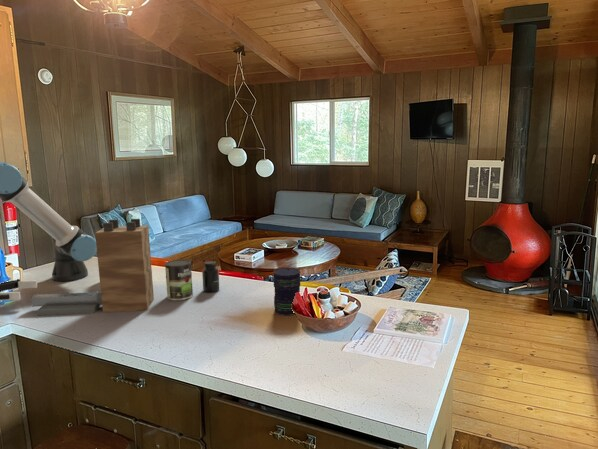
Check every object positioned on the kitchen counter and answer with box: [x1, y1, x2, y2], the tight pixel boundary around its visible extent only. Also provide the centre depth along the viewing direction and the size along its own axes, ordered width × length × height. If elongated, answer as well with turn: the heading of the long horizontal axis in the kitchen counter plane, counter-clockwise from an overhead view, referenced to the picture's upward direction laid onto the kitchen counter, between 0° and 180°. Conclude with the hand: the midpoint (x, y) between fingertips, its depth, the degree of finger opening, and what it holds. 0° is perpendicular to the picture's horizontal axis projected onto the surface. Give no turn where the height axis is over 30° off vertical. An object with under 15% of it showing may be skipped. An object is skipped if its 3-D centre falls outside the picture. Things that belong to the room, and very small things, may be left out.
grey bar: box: [30, 289, 102, 308], centre depth 174 cm, size 5×26×4 cm, turn 94°
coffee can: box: [164, 259, 194, 301], centre depth 185 cm, size 10×10×14 cm
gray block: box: [36, 304, 102, 316], centre depth 175 cm, size 12×20×2 cm, turn 96°
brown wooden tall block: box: [94, 218, 155, 313], centre depth 174 cm, size 12×16×33 cm
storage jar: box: [272, 267, 301, 317], centre depth 168 cm, size 10×10×15 cm
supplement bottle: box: [201, 260, 220, 293], centre depth 193 cm, size 7×7×12 cm
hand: (28, 289), depth 172 cm, fingers open, 13 cm apart
